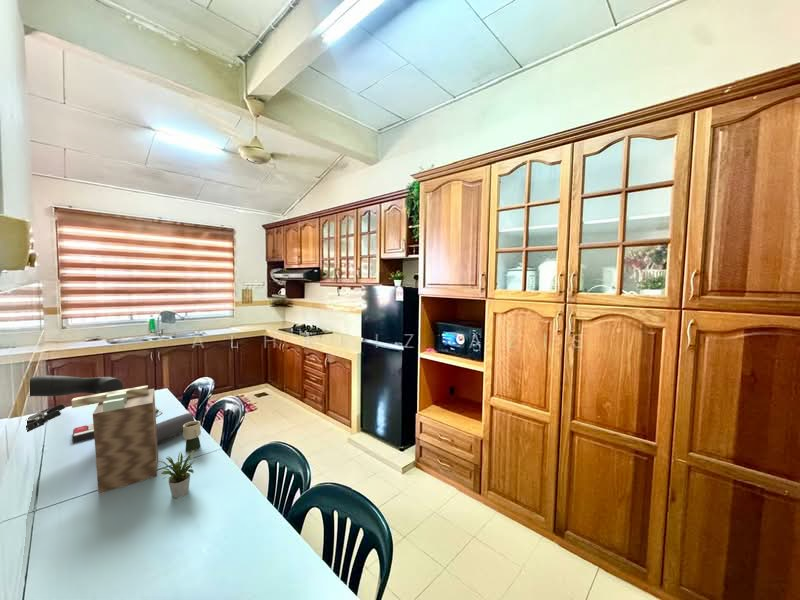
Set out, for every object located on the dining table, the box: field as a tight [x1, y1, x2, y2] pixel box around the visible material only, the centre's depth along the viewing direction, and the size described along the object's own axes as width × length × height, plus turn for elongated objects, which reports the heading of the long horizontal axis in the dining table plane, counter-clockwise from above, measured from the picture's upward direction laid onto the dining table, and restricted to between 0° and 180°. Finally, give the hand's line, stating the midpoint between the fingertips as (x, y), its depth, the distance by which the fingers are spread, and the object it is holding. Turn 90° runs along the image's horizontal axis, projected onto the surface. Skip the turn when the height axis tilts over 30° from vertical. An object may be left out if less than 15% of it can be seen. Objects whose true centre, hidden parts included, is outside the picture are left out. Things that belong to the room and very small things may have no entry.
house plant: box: [154, 449, 197, 499], centre depth 119 cm, size 14×14×16 cm
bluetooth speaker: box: [156, 412, 195, 445], centre depth 163 cm, size 23×9×10 cm, turn 154°
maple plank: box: [71, 385, 149, 409], centre depth 134 cm, size 24×4×3 cm, turn 130°
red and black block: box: [72, 423, 94, 444], centre depth 169 cm, size 11×4×15 cm
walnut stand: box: [92, 388, 159, 495], centre depth 134 cm, size 18×22×32 cm
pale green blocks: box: [103, 392, 127, 412], centre depth 127 cm, size 6×12×4 cm, turn 37°
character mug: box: [182, 420, 202, 453], centre depth 152 cm, size 11×7×13 cm, turn 58°
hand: (61, 408), depth 125 cm, fingers open, 8 cm apart
